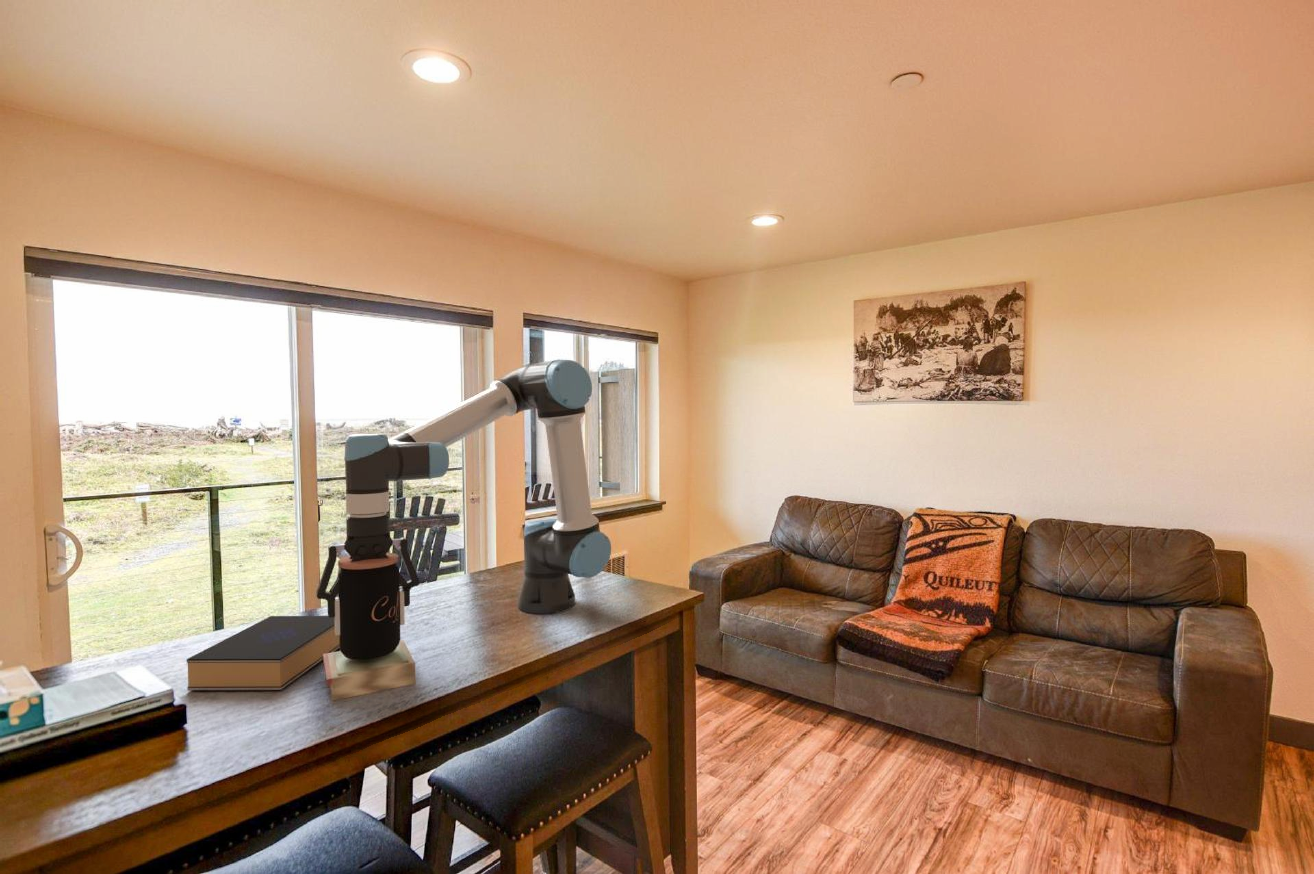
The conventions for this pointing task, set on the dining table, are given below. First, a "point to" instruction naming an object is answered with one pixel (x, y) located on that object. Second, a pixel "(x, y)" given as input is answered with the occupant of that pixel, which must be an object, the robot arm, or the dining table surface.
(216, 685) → the book
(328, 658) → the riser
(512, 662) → the dining table surface
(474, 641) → the dining table surface
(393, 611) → the coffee jar
